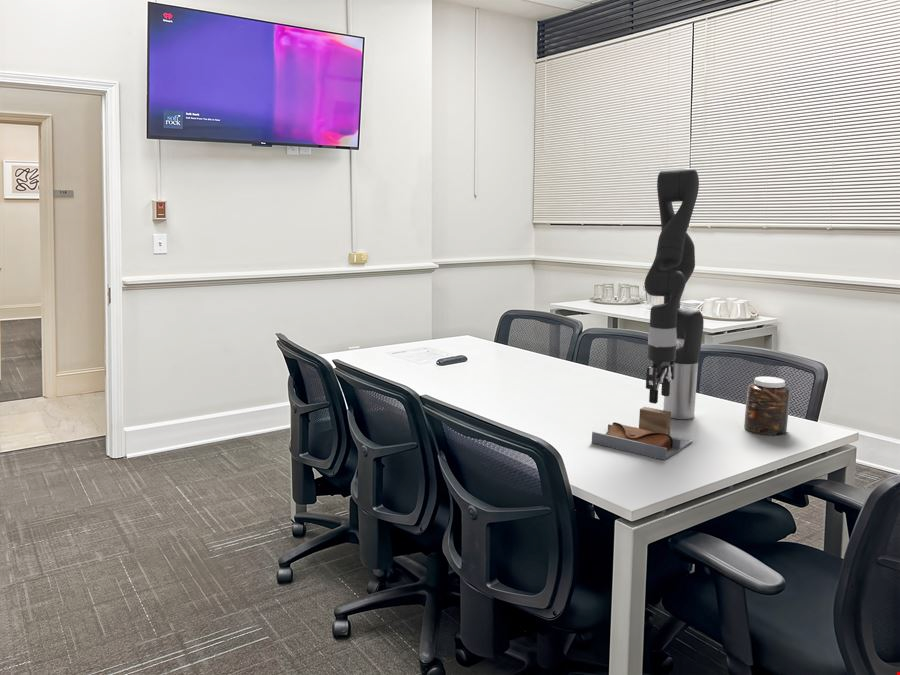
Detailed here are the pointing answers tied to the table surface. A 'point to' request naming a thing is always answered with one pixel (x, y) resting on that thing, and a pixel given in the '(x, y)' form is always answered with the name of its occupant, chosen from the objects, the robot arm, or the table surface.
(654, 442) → the sunglasses case
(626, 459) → the table surface
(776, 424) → the jar
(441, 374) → the table surface
